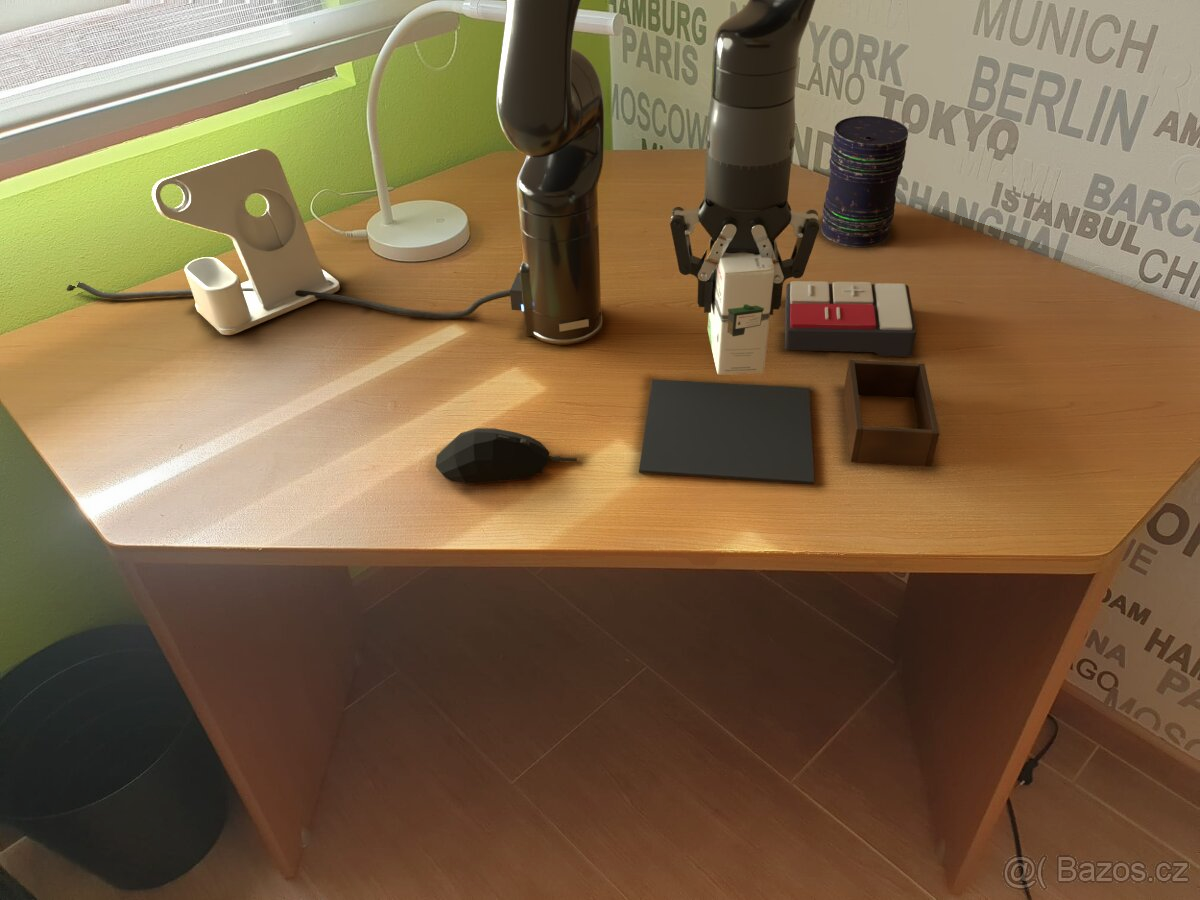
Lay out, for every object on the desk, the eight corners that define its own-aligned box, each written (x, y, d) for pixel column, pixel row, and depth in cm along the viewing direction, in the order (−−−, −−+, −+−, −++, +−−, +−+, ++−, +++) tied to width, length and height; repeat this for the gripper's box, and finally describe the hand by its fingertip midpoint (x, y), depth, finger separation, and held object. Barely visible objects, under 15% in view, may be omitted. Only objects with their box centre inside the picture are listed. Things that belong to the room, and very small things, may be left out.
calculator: (786, 277, 121) (909, 278, 119) (785, 306, 124) (904, 308, 122) (786, 324, 113) (917, 326, 111) (784, 354, 116) (912, 357, 113)
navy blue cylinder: (826, 211, 143) (840, 112, 133) (894, 219, 140) (912, 119, 130) (814, 242, 136) (828, 140, 126) (885, 251, 133) (904, 148, 123)
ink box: (706, 328, 101) (710, 227, 93) (753, 326, 101) (761, 224, 93) (716, 376, 94) (722, 271, 87) (767, 374, 95) (777, 268, 87)
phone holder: (222, 338, 121) (177, 207, 109) (190, 307, 127) (144, 180, 115) (343, 288, 129) (313, 162, 118) (307, 262, 135) (275, 138, 124)
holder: (850, 461, 100) (857, 428, 97) (843, 391, 109) (848, 359, 106) (931, 466, 99) (940, 433, 96) (917, 395, 108) (924, 363, 105)
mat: (638, 473, 100) (638, 470, 99) (652, 381, 112) (652, 379, 111) (814, 484, 98) (814, 481, 97) (808, 390, 110) (809, 387, 109)
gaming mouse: (578, 480, 99) (576, 451, 96) (435, 488, 99) (429, 459, 96) (576, 441, 104) (574, 412, 101) (439, 448, 103) (434, 419, 101)
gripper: (830, 129, 86) (810, 292, 97) (670, 126, 87) (668, 287, 98) (835, 164, 80) (813, 333, 91) (664, 161, 82) (662, 327, 93)
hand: (738, 309), depth 95 cm, fingers closed on ink box, 5 cm apart
